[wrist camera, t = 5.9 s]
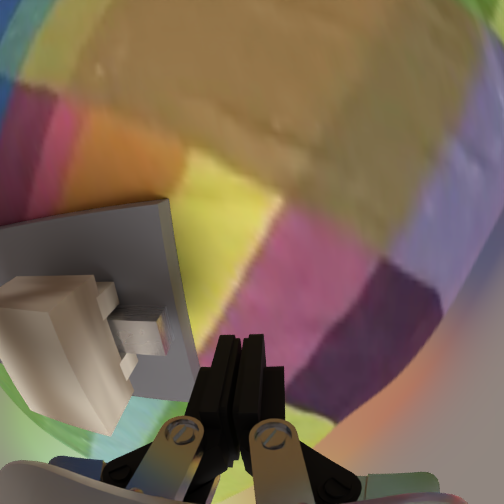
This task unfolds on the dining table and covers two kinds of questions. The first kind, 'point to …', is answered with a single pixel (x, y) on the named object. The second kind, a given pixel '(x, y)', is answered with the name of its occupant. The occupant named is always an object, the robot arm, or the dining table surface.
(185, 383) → the rail board
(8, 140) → the dining table surface
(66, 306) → the block
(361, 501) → the robot arm
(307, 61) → the dining table surface
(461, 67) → the dining table surface
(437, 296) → the dining table surface
